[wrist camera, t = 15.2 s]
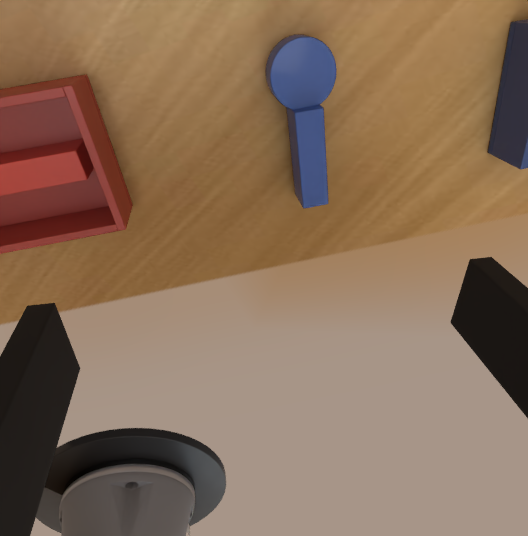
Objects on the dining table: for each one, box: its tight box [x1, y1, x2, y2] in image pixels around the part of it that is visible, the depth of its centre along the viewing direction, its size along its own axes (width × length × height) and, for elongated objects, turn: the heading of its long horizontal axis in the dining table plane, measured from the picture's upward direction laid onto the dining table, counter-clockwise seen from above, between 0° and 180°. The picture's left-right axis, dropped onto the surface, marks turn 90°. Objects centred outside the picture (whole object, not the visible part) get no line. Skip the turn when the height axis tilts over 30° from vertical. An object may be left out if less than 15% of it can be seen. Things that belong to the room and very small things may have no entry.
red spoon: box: [0, 138, 94, 196], centre depth 24 cm, size 10×4×3 cm, turn 98°
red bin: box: [0, 75, 133, 254], centre depth 24 cm, size 12×8×4 cm
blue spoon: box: [266, 35, 336, 208], centre depth 26 cm, size 10×4×3 cm, turn 8°
